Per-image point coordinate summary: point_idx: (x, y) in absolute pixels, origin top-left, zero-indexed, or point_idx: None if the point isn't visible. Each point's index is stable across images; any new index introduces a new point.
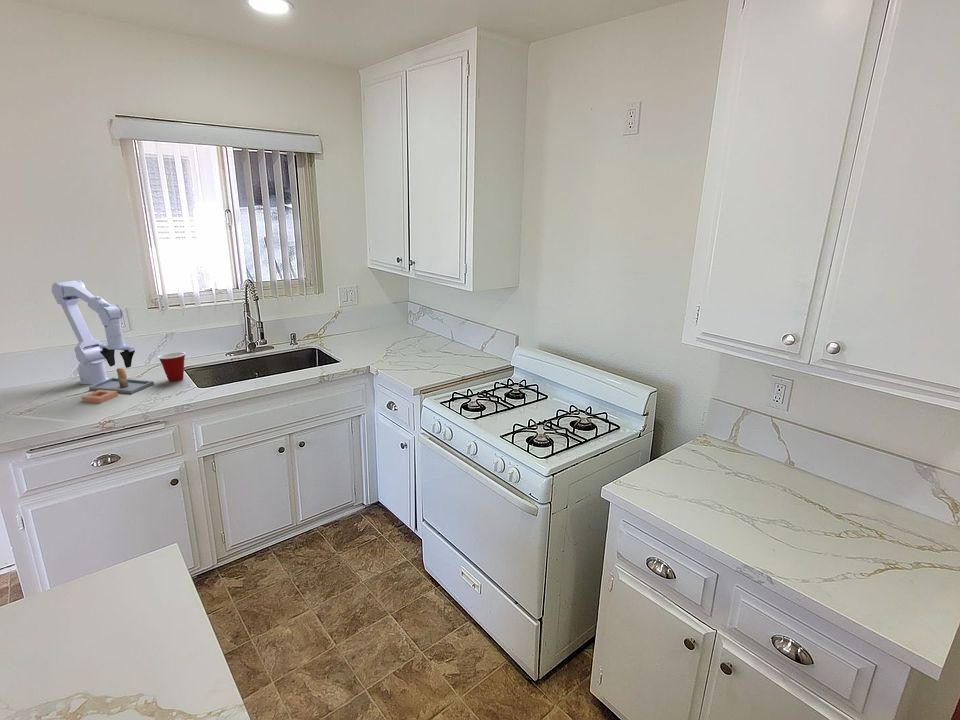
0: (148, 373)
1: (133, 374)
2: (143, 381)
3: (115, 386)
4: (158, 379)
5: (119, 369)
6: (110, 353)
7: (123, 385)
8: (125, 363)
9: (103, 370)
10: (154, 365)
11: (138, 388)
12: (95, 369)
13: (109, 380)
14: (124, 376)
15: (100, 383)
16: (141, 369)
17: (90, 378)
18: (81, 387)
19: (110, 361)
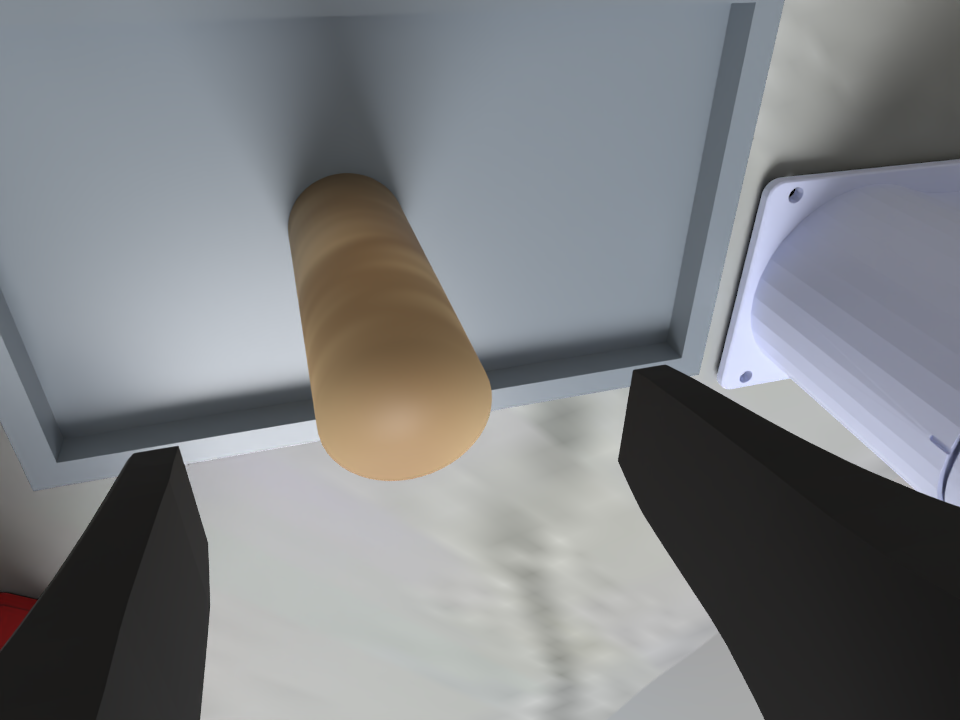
0: (490, 610)
1: (610, 541)
2: (193, 434)
3: (474, 185)
4: (221, 572)
5: (381, 364)
6: (846, 705)
7: (308, 201)
8: (99, 543)
9: (846, 388)
10: (590, 708)
11: None
12: (944, 322)
13: (685, 303)
14: (302, 311)
15: (719, 164)
16: (629, 628)
17: (913, 213)
18: (919, 57)
19: (701, 463)
